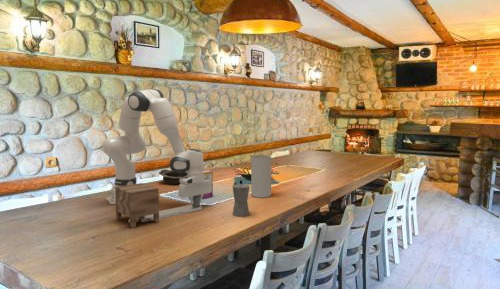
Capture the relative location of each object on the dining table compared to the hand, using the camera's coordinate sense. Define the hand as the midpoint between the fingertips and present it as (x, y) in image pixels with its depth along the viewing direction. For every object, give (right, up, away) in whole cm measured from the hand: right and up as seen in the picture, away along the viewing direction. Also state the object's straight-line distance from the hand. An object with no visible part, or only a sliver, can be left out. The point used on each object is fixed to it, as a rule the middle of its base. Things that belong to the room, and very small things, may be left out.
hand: (195, 203), depth 209 cm
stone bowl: (-24, +4, +72) cm, 76 cm away
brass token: (-27, -6, -24) cm, 37 cm away
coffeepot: (+25, -4, -10) cm, 27 cm away
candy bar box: (+1, -1, +25) cm, 25 cm away
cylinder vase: (+37, 0, +30) cm, 48 cm away
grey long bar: (-12, -4, -11) cm, 17 cm away
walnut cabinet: (-26, -5, -23) cm, 35 cm away
